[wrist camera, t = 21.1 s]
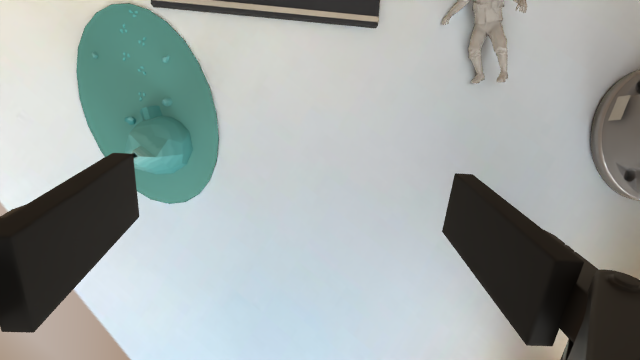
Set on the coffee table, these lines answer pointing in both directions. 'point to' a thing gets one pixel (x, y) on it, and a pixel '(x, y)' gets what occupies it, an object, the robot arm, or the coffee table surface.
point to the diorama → (148, 101)
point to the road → (288, 9)
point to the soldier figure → (486, 32)
